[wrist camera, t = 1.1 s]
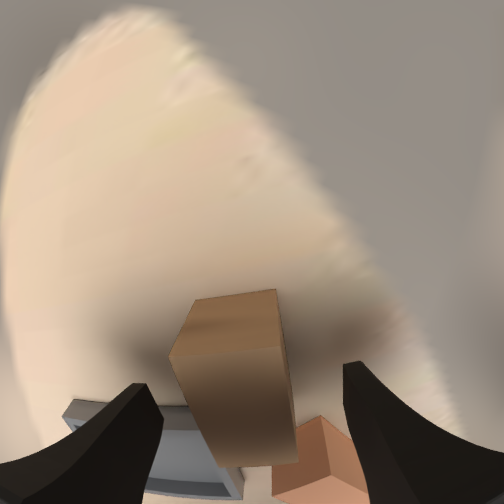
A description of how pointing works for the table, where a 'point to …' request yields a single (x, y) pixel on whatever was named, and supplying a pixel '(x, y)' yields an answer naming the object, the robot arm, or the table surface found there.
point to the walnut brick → (238, 379)
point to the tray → (176, 457)
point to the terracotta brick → (321, 469)
